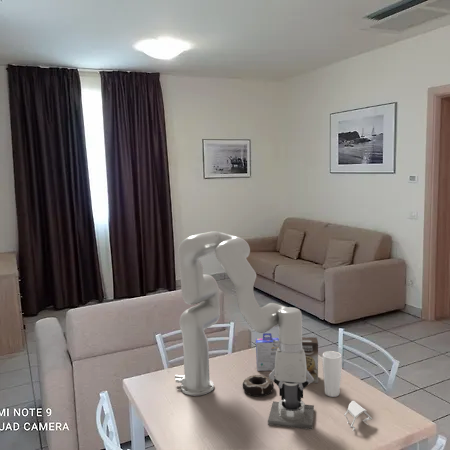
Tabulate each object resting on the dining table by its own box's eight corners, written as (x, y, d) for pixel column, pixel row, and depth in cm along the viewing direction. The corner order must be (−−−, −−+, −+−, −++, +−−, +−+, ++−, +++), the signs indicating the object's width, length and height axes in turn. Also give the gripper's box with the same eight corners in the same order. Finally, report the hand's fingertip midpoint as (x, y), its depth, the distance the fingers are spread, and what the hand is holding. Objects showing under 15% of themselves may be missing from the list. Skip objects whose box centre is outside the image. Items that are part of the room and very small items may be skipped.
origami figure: (376, 431, 134) (376, 416, 134) (349, 432, 134) (349, 417, 133) (362, 410, 146) (362, 396, 146) (337, 411, 146) (337, 398, 145)
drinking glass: (342, 399, 154) (342, 358, 152) (322, 397, 155) (322, 357, 153) (341, 390, 160) (341, 351, 158) (322, 388, 161) (322, 350, 160)
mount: (268, 424, 139) (267, 411, 139) (273, 405, 151) (272, 393, 150) (312, 429, 136) (312, 416, 135) (313, 409, 147) (313, 397, 147)
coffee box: (294, 382, 167) (294, 342, 165) (294, 375, 173) (293, 336, 172) (318, 383, 166) (318, 342, 164) (317, 375, 172) (316, 336, 170)
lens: (282, 411, 141) (282, 382, 140) (284, 403, 146) (284, 375, 145) (298, 413, 140) (298, 383, 139) (299, 404, 145) (299, 376, 144)
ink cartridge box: (279, 364, 183) (278, 332, 181) (280, 370, 177) (280, 336, 176) (256, 365, 183) (255, 332, 181) (256, 371, 178) (256, 337, 176)
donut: (239, 396, 158) (239, 386, 158) (246, 381, 169) (246, 371, 169) (270, 399, 155) (270, 389, 155) (276, 384, 166) (275, 374, 166)
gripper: (262, 348, 139) (264, 402, 141) (316, 352, 135) (317, 407, 137) (266, 340, 146) (267, 391, 148) (317, 343, 142) (318, 395, 144)
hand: (291, 398), depth 143 cm, fingers closed on lens, 4 cm apart
